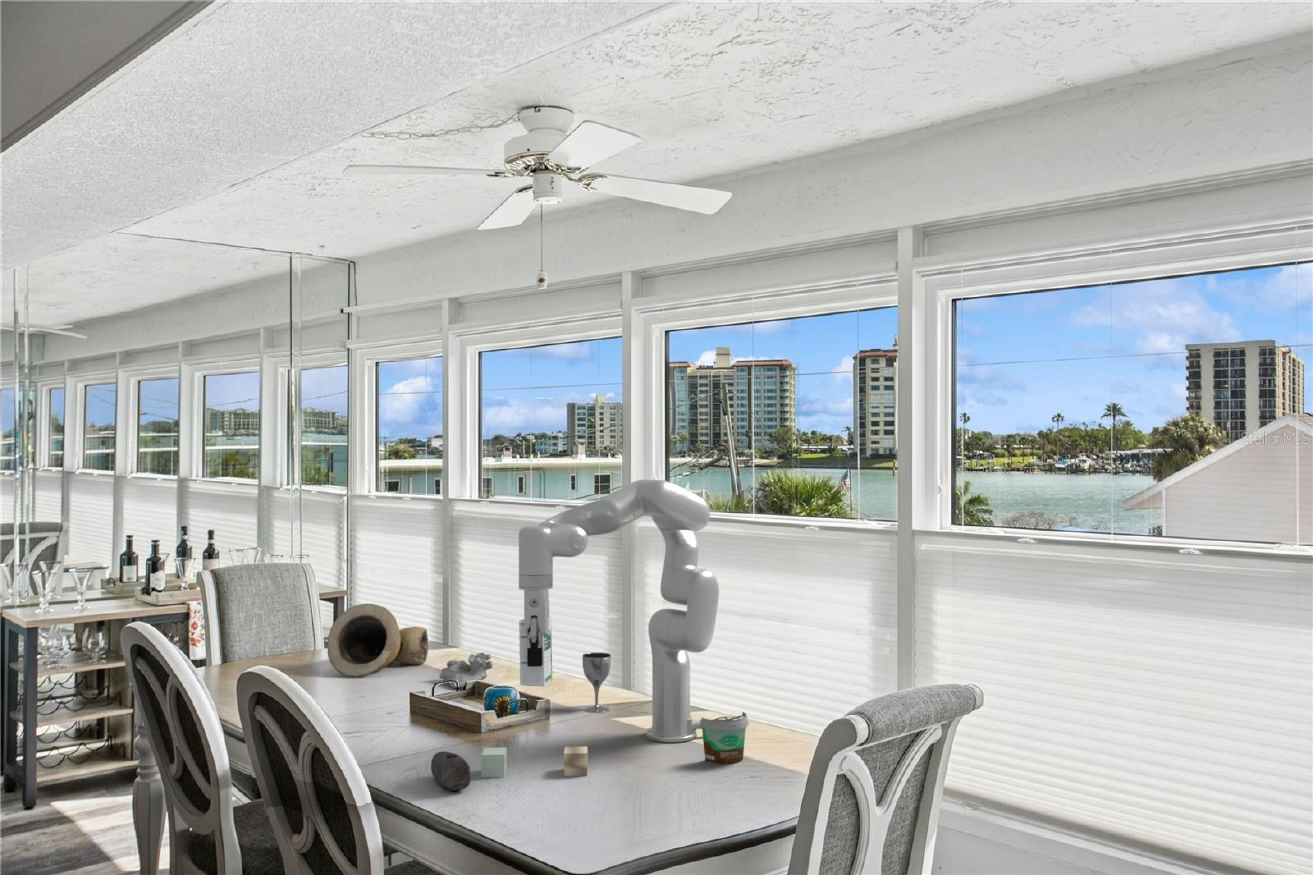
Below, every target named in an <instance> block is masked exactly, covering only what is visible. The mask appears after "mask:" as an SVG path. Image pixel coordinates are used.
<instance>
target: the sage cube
mask: <svg viewBox="0 0 1313 875" xmlns="http://www.w3.org/2000/svg"><path fill="white" fill-rule="evenodd" d="M507 752H508V750H507V747H484V748H483V750H482V753H481V755H480V756H481V761H480V762H481V764H480V765H481V767H480V770H481V774H480V777H481V778H505V776H506V774H507V770H508V766H507V765H508V764H507V763H508V761H507V760H508V758H507V757H508V755H507V754H508V753H507Z"/></svg>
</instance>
